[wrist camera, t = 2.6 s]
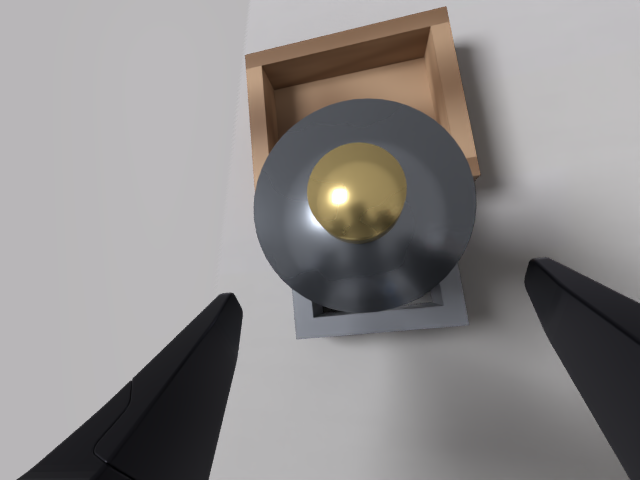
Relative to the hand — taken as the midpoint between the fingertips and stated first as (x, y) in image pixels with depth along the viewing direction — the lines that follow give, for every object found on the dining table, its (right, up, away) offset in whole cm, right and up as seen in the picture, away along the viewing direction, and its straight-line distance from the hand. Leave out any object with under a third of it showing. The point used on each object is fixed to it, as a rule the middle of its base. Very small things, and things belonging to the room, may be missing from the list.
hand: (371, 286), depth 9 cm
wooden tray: (+1, +8, +11) cm, 14 cm away
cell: (+1, +1, +9) cm, 9 cm away
